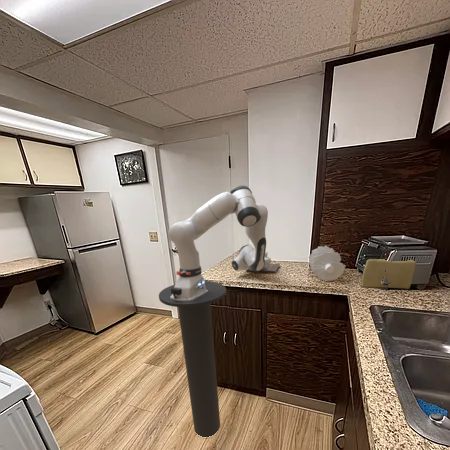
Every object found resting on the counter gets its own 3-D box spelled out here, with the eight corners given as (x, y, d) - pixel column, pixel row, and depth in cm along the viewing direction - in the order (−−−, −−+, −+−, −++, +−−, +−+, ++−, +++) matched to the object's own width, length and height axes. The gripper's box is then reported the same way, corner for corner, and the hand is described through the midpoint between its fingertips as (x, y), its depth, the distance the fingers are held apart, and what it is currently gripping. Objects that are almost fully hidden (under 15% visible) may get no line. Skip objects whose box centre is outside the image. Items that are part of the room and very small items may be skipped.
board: (274, 273, 167) (274, 271, 167) (246, 271, 174) (246, 269, 173) (279, 266, 184) (279, 264, 184) (253, 265, 191) (253, 263, 191)
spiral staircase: (319, 289, 146) (312, 274, 168) (350, 276, 140) (339, 263, 162) (308, 262, 140) (302, 251, 163) (339, 248, 135) (329, 239, 157)
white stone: (260, 265, 176) (260, 253, 173) (260, 263, 181) (260, 251, 177) (267, 265, 175) (267, 252, 172) (267, 263, 180) (267, 251, 176)
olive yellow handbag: (364, 289, 130) (369, 261, 125) (358, 283, 139) (362, 257, 134) (410, 289, 127) (417, 261, 121) (401, 283, 136) (407, 256, 130)
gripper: (263, 258, 160) (276, 254, 168) (240, 254, 174) (254, 251, 183) (263, 268, 162) (276, 264, 170) (241, 263, 177) (254, 260, 185)
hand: (264, 257), depth 177 cm, fingers closed on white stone, 5 cm apart
